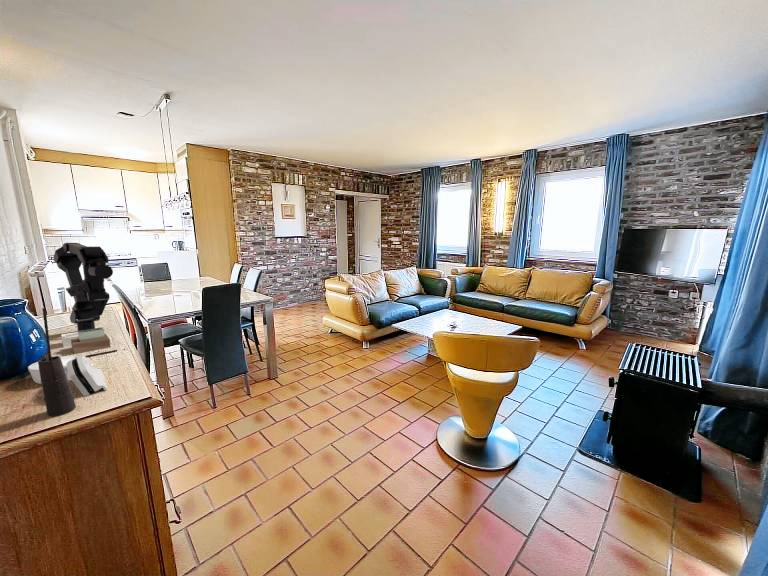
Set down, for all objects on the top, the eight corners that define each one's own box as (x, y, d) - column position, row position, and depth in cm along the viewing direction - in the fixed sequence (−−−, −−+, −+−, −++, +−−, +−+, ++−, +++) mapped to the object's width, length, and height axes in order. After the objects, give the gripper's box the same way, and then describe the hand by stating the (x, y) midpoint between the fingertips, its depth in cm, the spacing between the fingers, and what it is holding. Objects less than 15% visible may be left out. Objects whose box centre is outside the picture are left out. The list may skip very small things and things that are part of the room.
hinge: (107, 390, 90) (87, 363, 86) (87, 401, 87) (66, 373, 84) (102, 372, 102) (85, 347, 98) (84, 381, 99) (66, 356, 95)
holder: (62, 346, 123) (61, 334, 122) (93, 341, 130) (91, 330, 129) (64, 350, 119) (62, 338, 118) (95, 345, 125) (94, 333, 125)
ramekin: (81, 378, 97) (79, 363, 96) (28, 390, 89) (25, 373, 89) (81, 367, 105) (79, 353, 104) (32, 377, 97) (30, 361, 97)
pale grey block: (80, 348, 118) (77, 330, 117) (104, 344, 123) (102, 327, 122) (81, 350, 116) (78, 333, 114) (105, 346, 121) (103, 329, 120)
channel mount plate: (66, 350, 119) (64, 338, 118) (110, 343, 129) (109, 331, 128) (70, 360, 110) (68, 347, 109) (117, 351, 120) (115, 339, 119)
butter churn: (33, 409, 80) (16, 304, 75) (84, 397, 86) (71, 300, 82) (29, 425, 73) (10, 312, 69) (84, 410, 80) (70, 306, 76)
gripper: (63, 275, 127) (68, 312, 129) (68, 280, 115) (73, 320, 118) (100, 274, 135) (103, 308, 138) (107, 278, 124) (111, 316, 126)
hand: (98, 313), depth 130 cm, fingers open, 9 cm apart
